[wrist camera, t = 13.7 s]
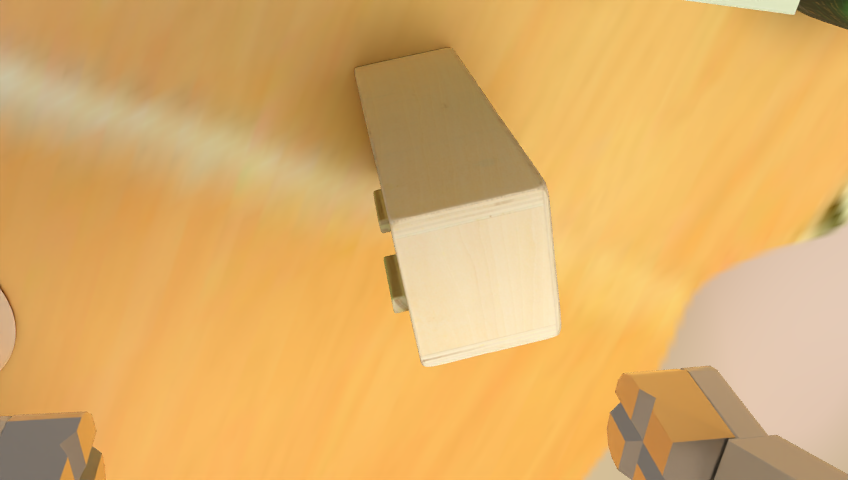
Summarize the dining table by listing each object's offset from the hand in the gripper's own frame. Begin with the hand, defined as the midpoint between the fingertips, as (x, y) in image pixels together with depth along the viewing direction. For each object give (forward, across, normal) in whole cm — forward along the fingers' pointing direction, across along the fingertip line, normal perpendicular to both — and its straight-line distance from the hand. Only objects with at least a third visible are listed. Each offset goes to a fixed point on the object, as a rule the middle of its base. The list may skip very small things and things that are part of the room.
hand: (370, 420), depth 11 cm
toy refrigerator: (+37, -6, +9) cm, 39 cm away
